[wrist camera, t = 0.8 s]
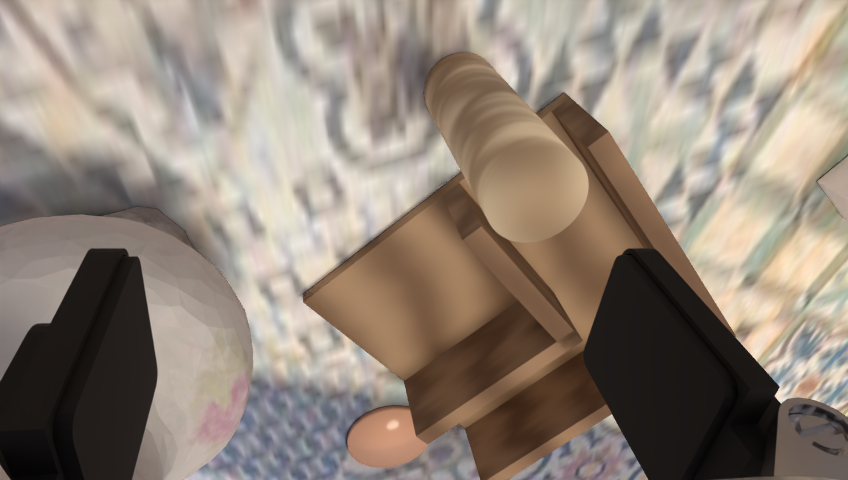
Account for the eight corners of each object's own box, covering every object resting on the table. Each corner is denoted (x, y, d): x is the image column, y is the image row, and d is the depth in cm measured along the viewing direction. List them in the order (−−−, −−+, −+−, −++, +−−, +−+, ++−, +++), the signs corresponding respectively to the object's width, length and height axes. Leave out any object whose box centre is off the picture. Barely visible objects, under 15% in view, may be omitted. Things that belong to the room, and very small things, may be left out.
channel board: (564, 92, 42) (608, 131, 36) (688, 284, 54) (735, 336, 48) (303, 294, 47) (305, 357, 41) (471, 427, 59) (490, 489, 53)
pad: (395, 392, 54) (396, 397, 54) (446, 431, 59) (447, 436, 58) (329, 438, 56) (329, 444, 56) (383, 472, 60) (384, 478, 60)
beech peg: (469, 36, 38) (555, 124, 26) (510, 93, 41) (606, 199, 28) (408, 86, 39) (463, 195, 27) (452, 139, 42) (520, 260, 30)
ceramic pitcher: (282, 365, 52) (316, 692, 31) (41, 428, 48) (-96, 839, 28) (207, 132, 40) (182, 418, 19) (-120, 196, 36) (-563, 618, 16)
